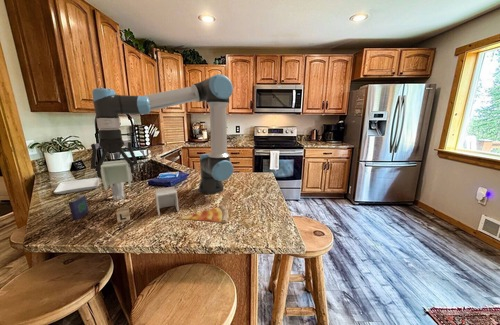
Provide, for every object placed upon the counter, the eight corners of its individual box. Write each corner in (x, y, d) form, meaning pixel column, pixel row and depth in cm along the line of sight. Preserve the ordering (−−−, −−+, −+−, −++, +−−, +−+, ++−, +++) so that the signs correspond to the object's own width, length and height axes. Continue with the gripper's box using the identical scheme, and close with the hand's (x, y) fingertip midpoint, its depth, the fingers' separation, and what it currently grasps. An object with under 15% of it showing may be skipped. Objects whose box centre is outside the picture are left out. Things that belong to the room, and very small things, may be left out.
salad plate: (99, 189, 129) (98, 184, 128) (54, 197, 117) (52, 191, 116) (100, 181, 146) (99, 176, 145) (61, 187, 134) (59, 182, 133)
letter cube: (118, 218, 91) (117, 209, 90) (130, 215, 93) (128, 207, 92) (117, 222, 87) (116, 213, 86) (129, 220, 90) (128, 210, 89)
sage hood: (107, 184, 89) (103, 162, 86) (130, 180, 93) (127, 159, 91) (104, 190, 81) (100, 166, 79) (130, 186, 85) (127, 163, 83)
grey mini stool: (156, 208, 101) (154, 189, 98) (175, 204, 105) (173, 186, 103) (158, 215, 93) (156, 195, 91) (178, 211, 97) (177, 191, 95)
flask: (84, 211, 98) (80, 190, 96) (91, 211, 98) (87, 190, 96) (70, 221, 89) (65, 198, 87) (78, 220, 89) (73, 198, 87)
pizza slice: (194, 205, 105) (194, 201, 105) (235, 208, 101) (235, 204, 101) (179, 220, 90) (178, 216, 90) (226, 224, 86) (226, 219, 86)
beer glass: (119, 201, 110) (114, 174, 107) (108, 200, 111) (103, 174, 108) (129, 196, 117) (125, 171, 113) (118, 195, 118) (114, 170, 115)
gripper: (72, 130, 73) (84, 189, 78) (140, 128, 84) (146, 180, 89) (77, 129, 80) (88, 183, 85) (139, 127, 90) (146, 176, 95)
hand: (118, 182), depth 87 cm, fingers closed on sage hood, 9 cm apart
